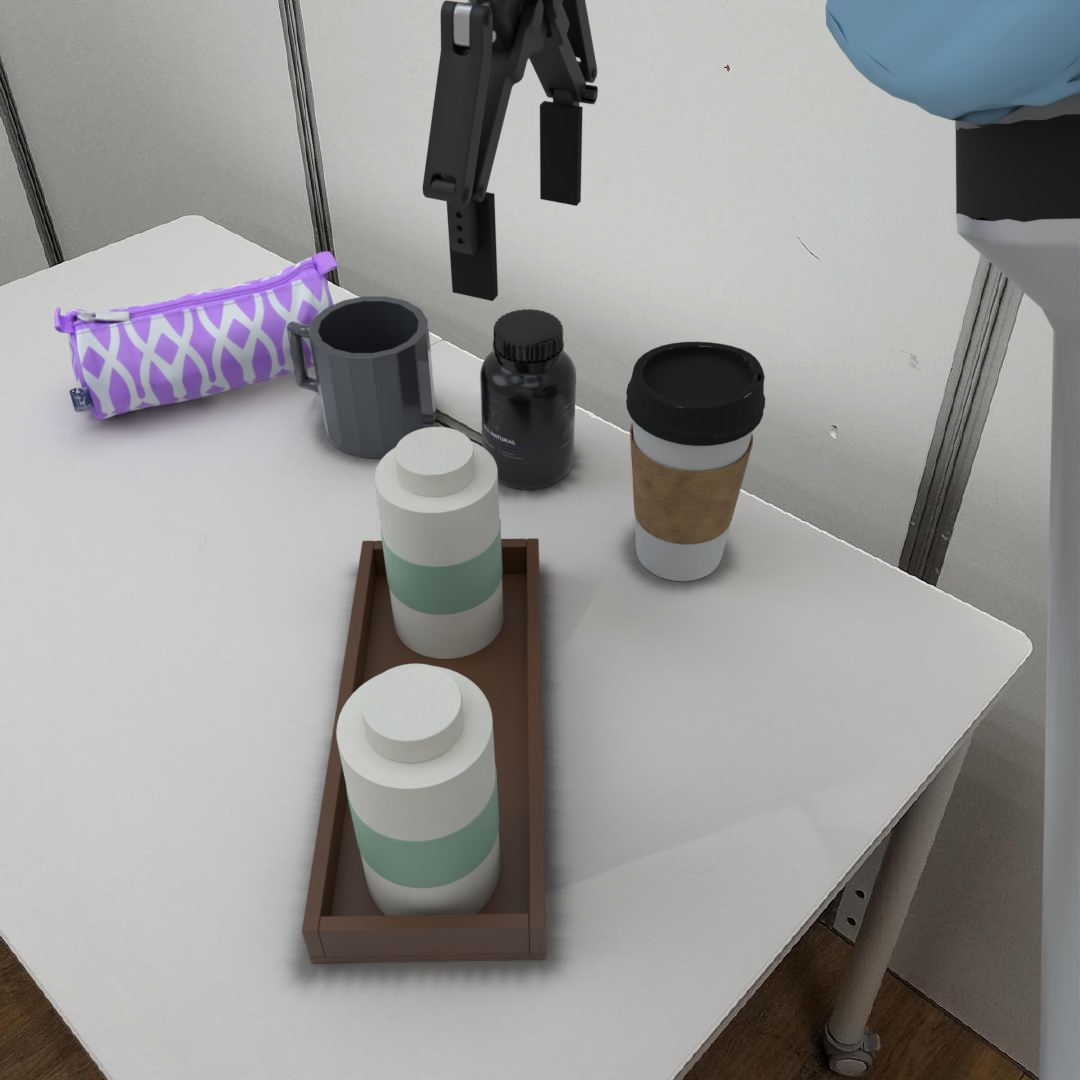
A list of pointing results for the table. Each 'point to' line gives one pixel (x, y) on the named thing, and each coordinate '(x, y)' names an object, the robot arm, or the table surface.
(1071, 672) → the robot arm
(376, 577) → the tray
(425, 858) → the white bottle near
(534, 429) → the supplement bottle
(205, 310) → the pencil case
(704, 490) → the coffee cup
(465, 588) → the white bottle far
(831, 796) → the table surface
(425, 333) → the grey mug
